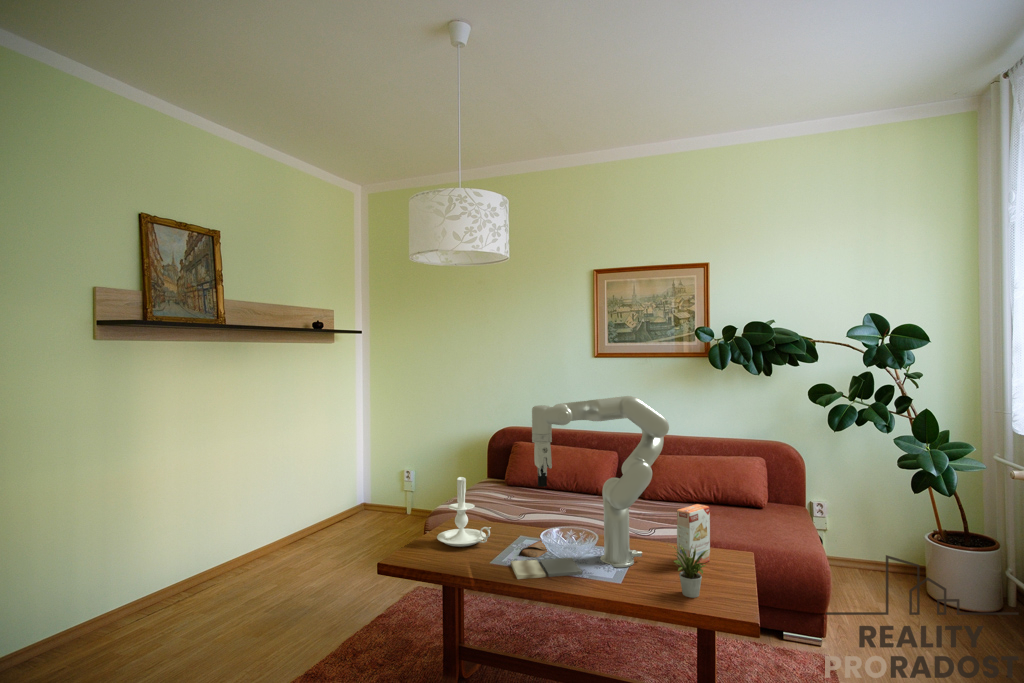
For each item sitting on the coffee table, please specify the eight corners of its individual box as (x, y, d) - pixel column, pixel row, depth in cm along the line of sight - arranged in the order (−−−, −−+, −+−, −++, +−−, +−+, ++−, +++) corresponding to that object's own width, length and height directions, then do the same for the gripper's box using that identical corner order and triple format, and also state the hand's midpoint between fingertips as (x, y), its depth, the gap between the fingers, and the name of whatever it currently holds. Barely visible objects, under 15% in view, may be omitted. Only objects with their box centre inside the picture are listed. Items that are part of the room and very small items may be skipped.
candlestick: (477, 556, 220) (477, 485, 221) (427, 546, 231) (426, 479, 232) (503, 541, 238) (502, 475, 239) (455, 533, 250) (454, 470, 250)
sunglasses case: (537, 562, 213) (529, 545, 215) (524, 568, 216) (516, 552, 218) (559, 548, 228) (551, 533, 230) (546, 554, 231) (538, 539, 233)
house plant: (658, 596, 181) (657, 545, 182) (671, 582, 193) (670, 534, 193) (702, 607, 173) (701, 553, 174) (714, 591, 185) (713, 541, 185)
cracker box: (690, 570, 204) (689, 512, 204) (676, 565, 208) (675, 509, 209) (711, 561, 212) (710, 506, 213) (697, 557, 217) (696, 503, 218)
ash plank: (539, 565, 209) (539, 559, 209) (548, 579, 196) (548, 573, 196) (510, 566, 207) (510, 561, 208) (517, 581, 194) (517, 575, 194)
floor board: (571, 563, 211) (571, 557, 212) (582, 577, 198) (582, 571, 198) (540, 565, 209) (540, 559, 209) (548, 579, 196) (548, 573, 196)
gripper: (556, 440, 207) (556, 490, 206) (546, 435, 221) (547, 481, 221) (536, 441, 205) (536, 491, 205) (528, 435, 220) (528, 482, 219)
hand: (542, 486), depth 213 cm, fingers closed
